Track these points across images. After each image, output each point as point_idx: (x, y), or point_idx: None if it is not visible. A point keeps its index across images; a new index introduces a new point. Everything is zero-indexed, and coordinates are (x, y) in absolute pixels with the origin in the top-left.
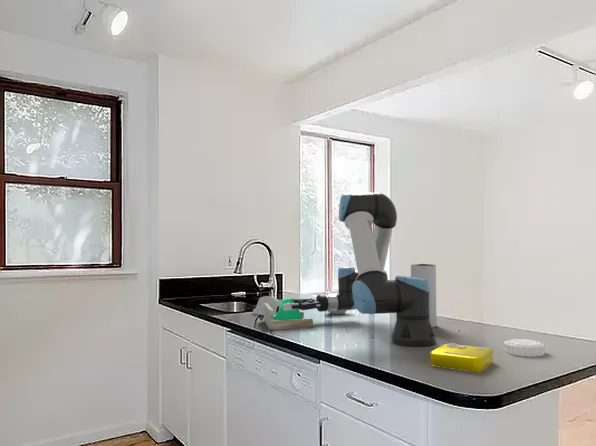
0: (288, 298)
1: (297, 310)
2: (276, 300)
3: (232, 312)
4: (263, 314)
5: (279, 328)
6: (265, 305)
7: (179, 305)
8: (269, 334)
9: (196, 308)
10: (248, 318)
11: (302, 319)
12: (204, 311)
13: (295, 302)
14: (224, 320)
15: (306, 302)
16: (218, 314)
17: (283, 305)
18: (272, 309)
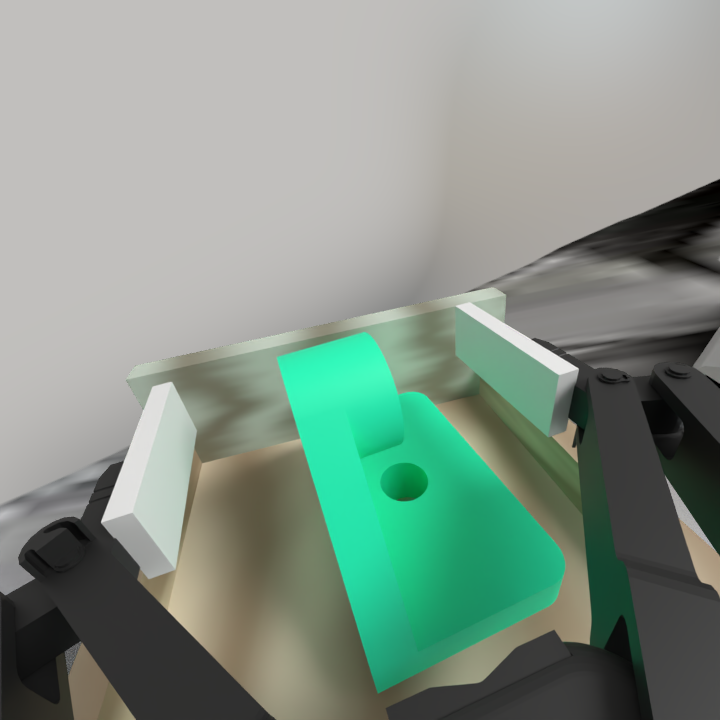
0: (327, 354)
1: (338, 561)
2: (466, 305)
3: (684, 262)
4: (710, 341)
5: None
6: (407, 308)
7: (704, 187)
8: (51, 484)
9: (683, 209)
10: (551, 325)
11: (81, 702)
12: (638, 228)
13: (586, 453)
14: (467, 292)
15: (183, 687)
16: (598, 255)
17: (174, 395)
18: (165, 369)
